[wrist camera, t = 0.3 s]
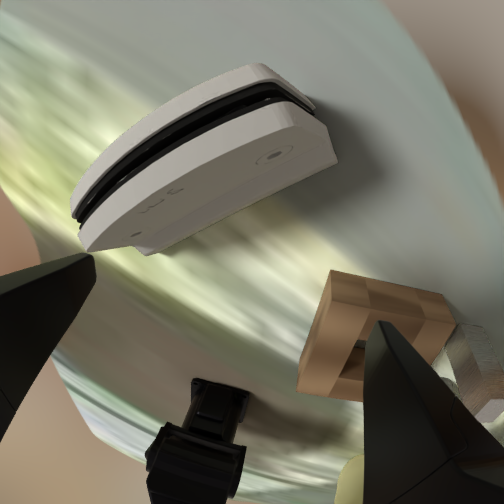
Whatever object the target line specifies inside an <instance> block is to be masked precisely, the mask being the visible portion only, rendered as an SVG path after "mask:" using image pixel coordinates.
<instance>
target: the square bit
mask: <svg viewBox="0 0 504 504" xmlns="http://www.w3.org/2000/svg"><path fill="white" fill-rule="evenodd" d="M445 349H446V352H447V355H448V358H449V361H450V363H451V366H452V369H453V372H454V376H455V379H456V382H457V385H458V388H459V392H460V395H461V398H462V402H463V404H464V406H465V407H466V408H467V409H468V410H469V411H470V412H471V414H472V415H473V416H474V417H475V418H476V419H477V420H478V421H479V422H480V423H484V422H493V421H494V420H495V419H496V418H497V417H498V416H499V415H500V414H501V413H502V412H503V411H504V372H503V370H502V368H501V365H500V363H499V361H498V359H497V356H496V354H495V352H494V350H493V348H492V346H491V344H490V342H489V340H488V338H487V336H486V334H485V332H484V330H483V328H482V327H479V326H473V325H468V324H462V323H459V325H458V326H457V328H456V330H455V331H454V333H453V335H452V336H451V338H450V339H449V341H448V343H447V344H446V346H445Z"/></svg>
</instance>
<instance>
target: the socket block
mask: <svg viewBox="0 0 504 504" xmlns="http://www.w3.org/2000/svg"><path fill="white" fill-rule="evenodd" d="M377 320H384V321H389V322H391V323H392V324H393V325H394V326H395V327H396V328H397V330H398V331H399V332H400V333H401V334H402V335H403V336H404V337H405V338H406V339H407V340H408V342H409V343H410V344H411V345H412V346H413V347H414V348H415V349H416V350H417V352H418V353H419V354H420V355H421V356H422V357H423V358H424V359H425V360H426V362H427V363H428V364H429V365H431V364H432V362H433V361H434V359H435V358H436V357H437V355H438V354H439V352H440V350H441V349H442V347H443V346H444V344H445V343H446V341H447V340H448V338H449V336H450V335H451V333H452V331H453V330H454V328H455V326H456V323H455V321H454V319H453V317H452V314H451V312H450V310H449V308H448V306H447V304H446V302H445V300H444V298H443V296H442V294H438V293H433V292H429V291H424V290H420V289H415V288H411V287H406V286H402V285H397V284H393V283H388V282H384V281H379V280H375V279H370V278H366V277H361V276H357V275H352V274H348V273H343V272H339V271H334V270H330V272H329V276H328V279H327V282H326V285H325V288H324V291H323V294H322V297H321V300H320V303H319V306H318V309H317V312H316V315H315V318H314V321H313V324H312V327H311V329H310V332H309V335H308V338H307V341H306V343H305V346H304V349H303V351H302V354H301V357H300V361H299V370H298V378H297V387H296V392H301V393H306V394H312V395H317V396H323V397H330V398H336V399H343V400H350V401H358V402H363V380H364V364H365V349H363V348H357V347H354V345H355V343H356V341H357V339H359V340H365V341H367V339H368V337H369V335H370V333H371V331H372V328H373V326H374V324H375V322H376V321H377Z"/></svg>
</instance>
